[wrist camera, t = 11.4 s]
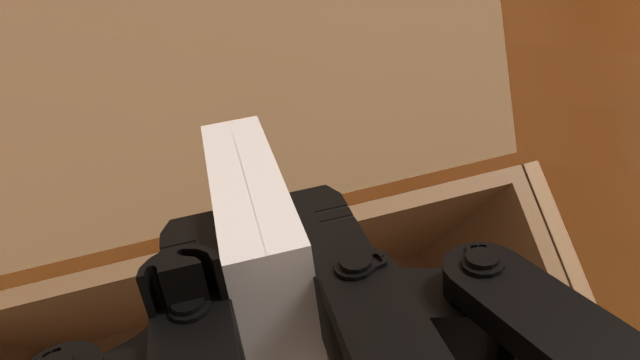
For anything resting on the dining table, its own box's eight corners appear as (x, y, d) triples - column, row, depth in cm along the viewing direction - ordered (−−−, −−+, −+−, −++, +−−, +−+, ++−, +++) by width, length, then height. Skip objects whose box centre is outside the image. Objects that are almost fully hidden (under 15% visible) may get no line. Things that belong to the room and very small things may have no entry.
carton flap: (516, 152, 21) (508, 150, 22) (481, -173, 19) (472, -166, 19) (-116, 302, 18) (-107, 295, 18) (-264, -75, 15) (-247, -70, 16)
